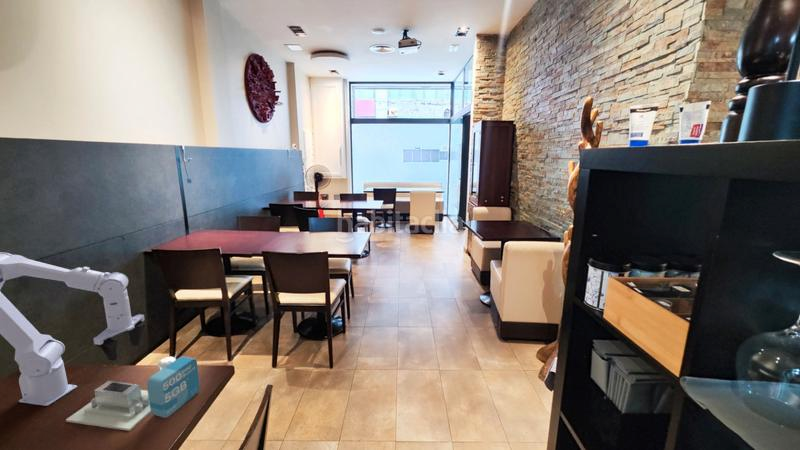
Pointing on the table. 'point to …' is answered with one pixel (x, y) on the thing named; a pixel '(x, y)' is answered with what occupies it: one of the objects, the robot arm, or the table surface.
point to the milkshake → (166, 362)
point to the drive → (118, 396)
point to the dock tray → (112, 415)
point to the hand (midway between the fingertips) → (124, 352)
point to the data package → (173, 386)
